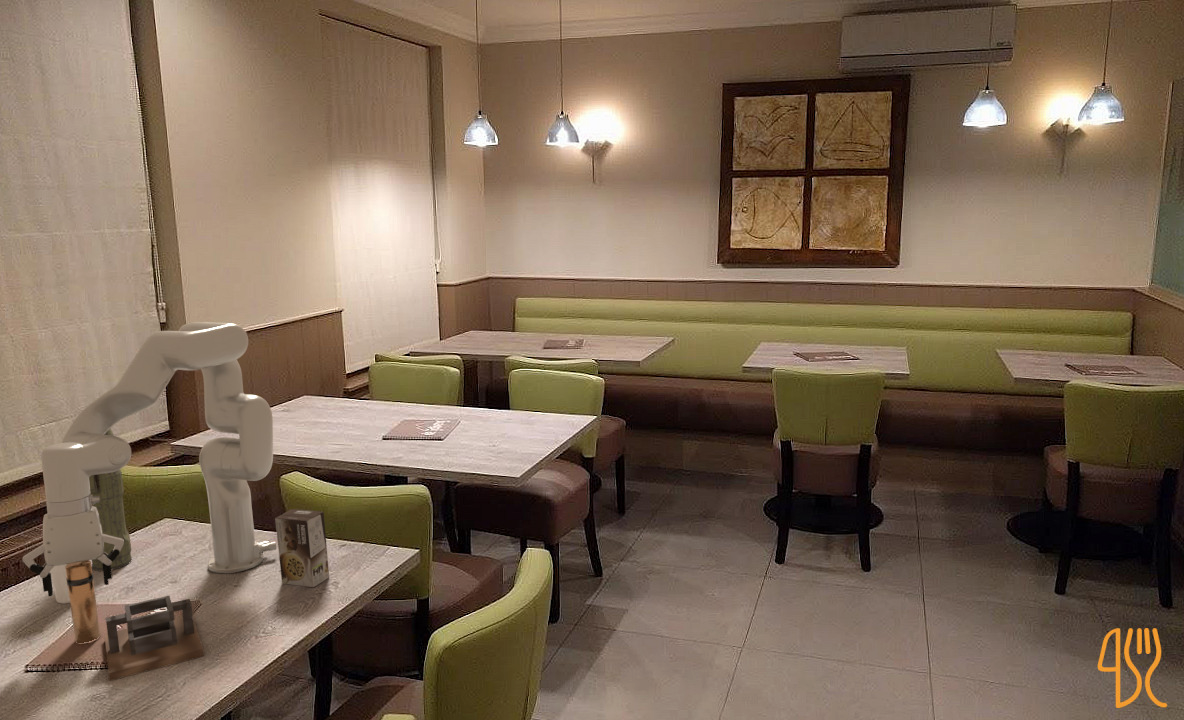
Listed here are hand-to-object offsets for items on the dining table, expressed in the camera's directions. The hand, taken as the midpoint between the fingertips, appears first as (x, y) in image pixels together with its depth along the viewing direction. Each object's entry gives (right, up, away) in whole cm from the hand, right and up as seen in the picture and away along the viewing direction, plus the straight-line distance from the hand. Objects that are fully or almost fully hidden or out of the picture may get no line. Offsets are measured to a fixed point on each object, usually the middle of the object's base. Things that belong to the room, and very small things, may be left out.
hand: (78, 588), depth 171 cm
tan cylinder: (0, -11, +2) cm, 11 cm away
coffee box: (+36, -6, +28) cm, 46 cm away
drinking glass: (-15, -8, +21) cm, 27 cm away
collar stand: (+16, -11, -2) cm, 20 cm away
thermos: (-16, -5, +41) cm, 44 cm away
